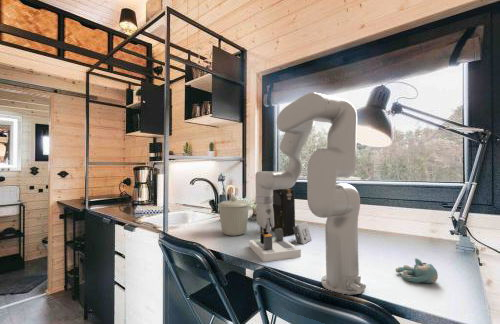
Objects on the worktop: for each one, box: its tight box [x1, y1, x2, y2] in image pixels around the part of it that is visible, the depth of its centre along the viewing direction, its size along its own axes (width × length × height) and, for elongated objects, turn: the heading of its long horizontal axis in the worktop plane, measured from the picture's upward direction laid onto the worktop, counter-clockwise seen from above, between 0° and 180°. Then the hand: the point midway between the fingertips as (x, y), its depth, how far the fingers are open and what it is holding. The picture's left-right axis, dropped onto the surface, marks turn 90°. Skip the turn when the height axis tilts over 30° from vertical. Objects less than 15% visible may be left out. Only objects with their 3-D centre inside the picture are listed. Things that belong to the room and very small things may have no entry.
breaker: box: [274, 228, 284, 241], centre depth 119 cm, size 2×3×5 cm, turn 107°
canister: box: [217, 195, 251, 237], centre depth 145 cm, size 18×18×21 cm
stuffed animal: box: [395, 258, 439, 284], centre depth 85 cm, size 11×7×12 cm
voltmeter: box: [270, 188, 296, 237], centre depth 145 cm, size 16×9×25 cm, turn 25°
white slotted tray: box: [248, 237, 302, 263], centre depth 114 cm, size 20×16×3 cm
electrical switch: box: [293, 221, 312, 245], centre depth 128 cm, size 9×5×9 cm, turn 141°
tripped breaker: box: [264, 233, 273, 249], centre depth 107 cm, size 2×3×6 cm, turn 107°
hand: (264, 243), depth 111 cm, fingers closed
